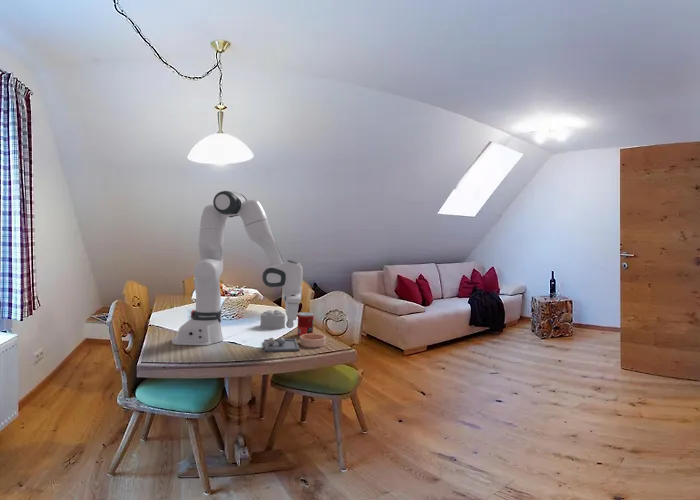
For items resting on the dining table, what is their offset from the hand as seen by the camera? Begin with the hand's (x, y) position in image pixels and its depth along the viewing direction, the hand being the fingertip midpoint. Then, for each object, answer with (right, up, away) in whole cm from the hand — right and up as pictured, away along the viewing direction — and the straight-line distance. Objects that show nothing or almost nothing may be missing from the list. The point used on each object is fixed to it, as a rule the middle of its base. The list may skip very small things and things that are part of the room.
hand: (289, 325), depth 191 cm
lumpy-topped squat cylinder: (-14, -8, +37) cm, 40 cm away
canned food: (+5, -9, +22) cm, 24 cm away
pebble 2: (-4, -7, 0) cm, 8 cm away
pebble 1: (-8, -7, -2) cm, 11 cm away
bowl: (+10, -10, +6) cm, 15 cm away
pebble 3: (0, +1, 0) cm, 1 cm away
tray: (-4, -9, 0) cm, 10 cm away
